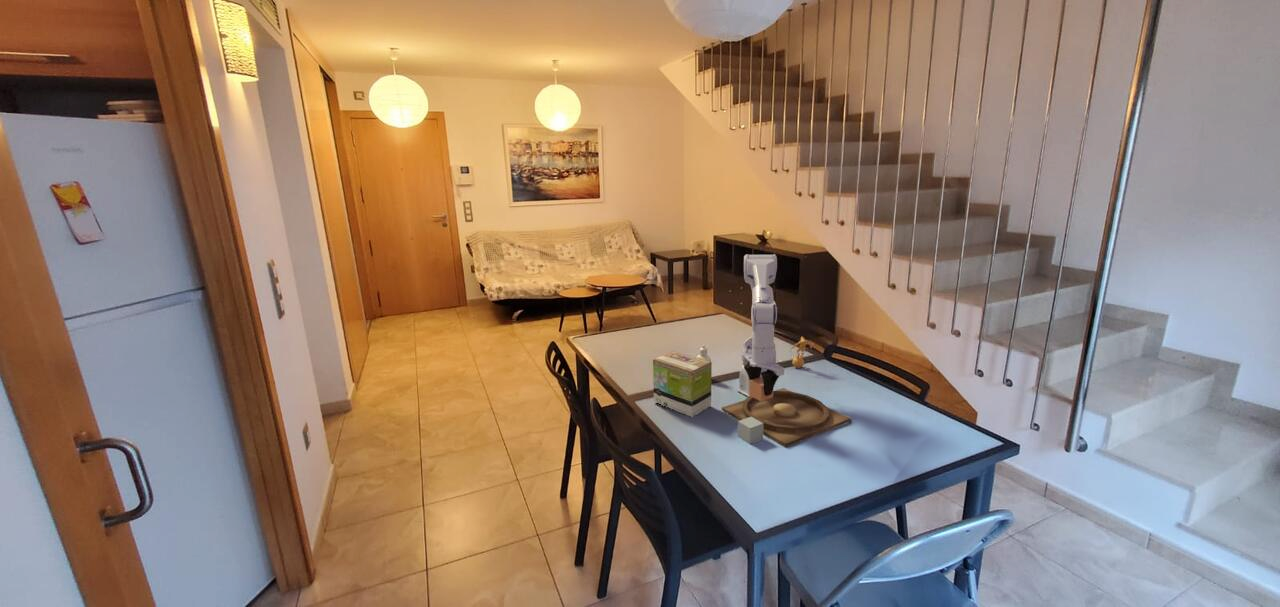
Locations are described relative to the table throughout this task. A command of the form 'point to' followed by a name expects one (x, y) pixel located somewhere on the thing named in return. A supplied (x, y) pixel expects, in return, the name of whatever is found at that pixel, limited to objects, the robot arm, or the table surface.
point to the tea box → (682, 382)
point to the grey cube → (750, 430)
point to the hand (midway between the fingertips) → (761, 391)
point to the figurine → (799, 361)
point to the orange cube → (758, 389)
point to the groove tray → (788, 426)
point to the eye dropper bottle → (703, 354)
